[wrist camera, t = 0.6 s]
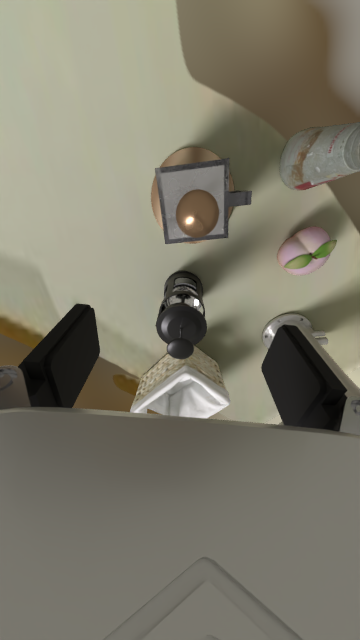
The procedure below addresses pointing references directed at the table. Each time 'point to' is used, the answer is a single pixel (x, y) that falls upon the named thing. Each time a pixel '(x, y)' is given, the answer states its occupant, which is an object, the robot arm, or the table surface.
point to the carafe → (192, 177)
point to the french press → (181, 316)
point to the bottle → (320, 155)
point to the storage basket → (182, 387)
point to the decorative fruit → (305, 251)
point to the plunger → (197, 213)
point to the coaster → (182, 158)
